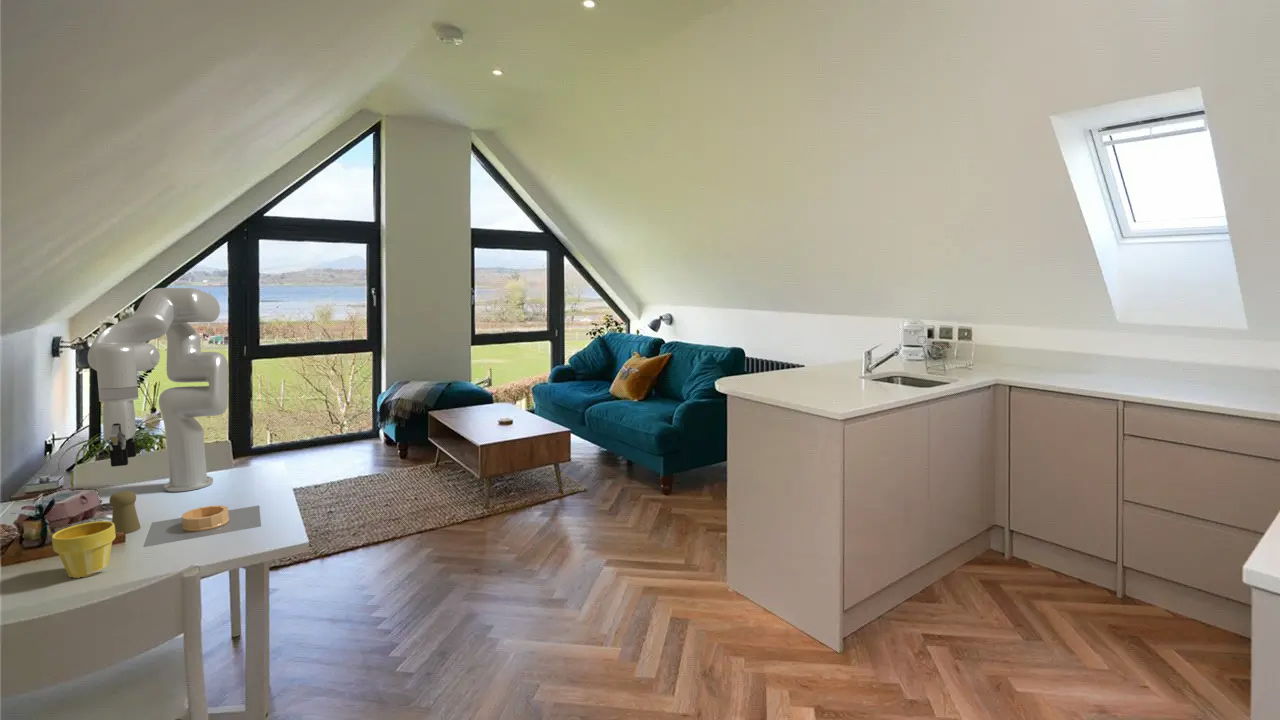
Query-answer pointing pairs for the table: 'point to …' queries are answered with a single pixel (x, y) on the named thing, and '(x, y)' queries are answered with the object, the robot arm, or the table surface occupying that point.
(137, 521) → the cork
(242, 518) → the slate board
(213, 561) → the table surface
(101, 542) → the plant pot
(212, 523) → the tan shallow bowl
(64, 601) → the table surface
